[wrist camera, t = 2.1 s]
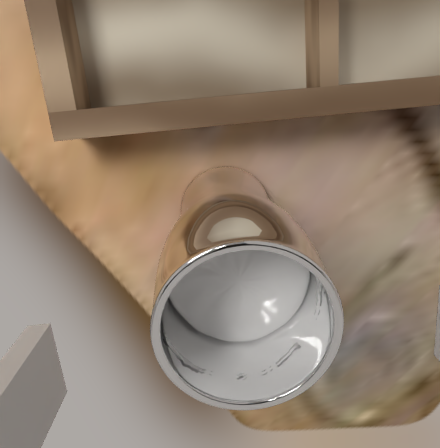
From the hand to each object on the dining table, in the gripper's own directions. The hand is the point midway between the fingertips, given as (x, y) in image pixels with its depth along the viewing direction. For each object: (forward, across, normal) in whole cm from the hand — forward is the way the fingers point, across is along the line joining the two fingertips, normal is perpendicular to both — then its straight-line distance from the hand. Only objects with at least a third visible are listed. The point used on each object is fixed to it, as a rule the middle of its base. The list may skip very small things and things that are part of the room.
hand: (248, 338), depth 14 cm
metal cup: (+15, 0, 0) cm, 15 cm away
